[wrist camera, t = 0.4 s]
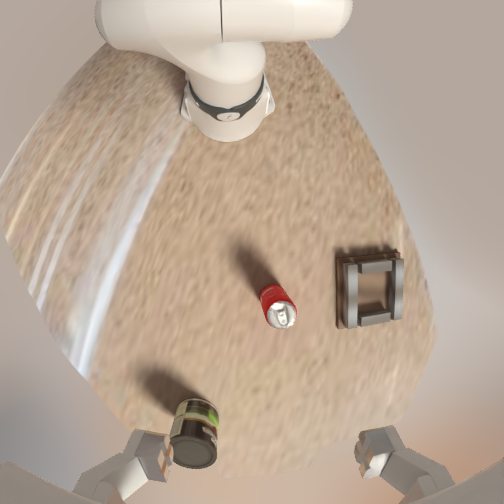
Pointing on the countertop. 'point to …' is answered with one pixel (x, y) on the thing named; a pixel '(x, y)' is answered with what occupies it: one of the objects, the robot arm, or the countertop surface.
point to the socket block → (369, 289)
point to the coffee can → (195, 434)
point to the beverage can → (277, 307)
